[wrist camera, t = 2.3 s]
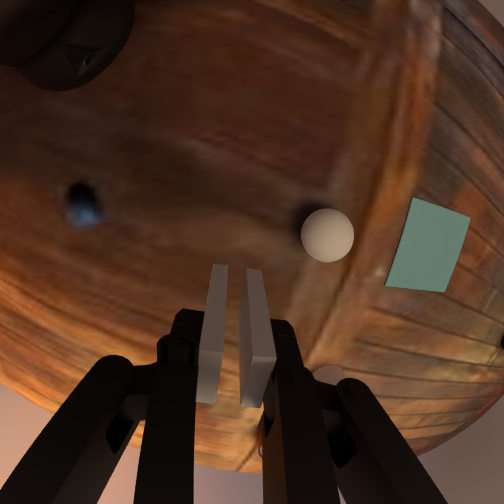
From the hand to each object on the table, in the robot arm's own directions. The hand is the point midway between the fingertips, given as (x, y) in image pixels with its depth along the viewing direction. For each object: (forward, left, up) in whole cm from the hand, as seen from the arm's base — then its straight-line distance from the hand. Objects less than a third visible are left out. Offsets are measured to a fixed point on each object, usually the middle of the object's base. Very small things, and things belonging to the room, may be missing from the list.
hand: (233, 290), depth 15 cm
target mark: (0, +26, -16) cm, 31 cm away
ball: (0, +10, -14) cm, 17 cm away
